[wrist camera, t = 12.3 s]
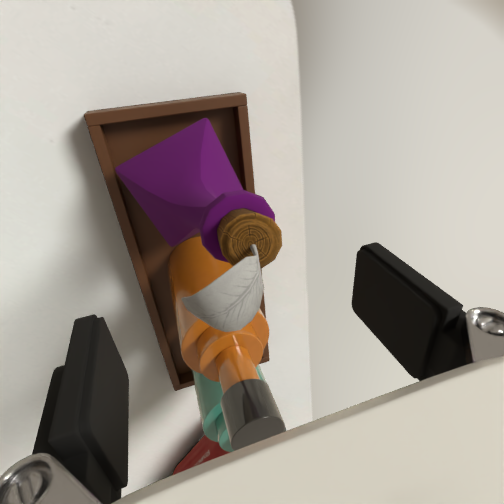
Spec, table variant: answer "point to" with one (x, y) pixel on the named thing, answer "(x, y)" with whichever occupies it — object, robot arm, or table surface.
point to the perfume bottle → (207, 219)
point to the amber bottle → (223, 349)
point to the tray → (134, 217)
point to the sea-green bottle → (213, 408)
